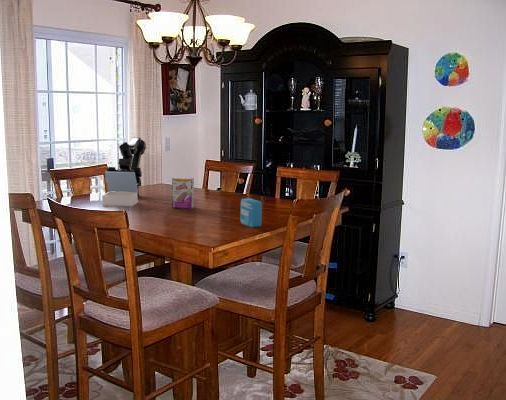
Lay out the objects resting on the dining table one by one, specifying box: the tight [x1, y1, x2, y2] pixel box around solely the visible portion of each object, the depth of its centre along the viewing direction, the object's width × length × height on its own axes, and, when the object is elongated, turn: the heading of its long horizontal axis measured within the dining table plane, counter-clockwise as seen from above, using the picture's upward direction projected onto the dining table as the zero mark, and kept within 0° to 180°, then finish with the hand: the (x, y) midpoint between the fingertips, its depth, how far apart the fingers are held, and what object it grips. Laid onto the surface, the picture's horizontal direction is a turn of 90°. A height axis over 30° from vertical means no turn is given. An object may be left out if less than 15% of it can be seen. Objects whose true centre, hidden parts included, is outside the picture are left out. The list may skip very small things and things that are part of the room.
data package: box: [239, 197, 263, 228], centre depth 247 cm, size 12×4×12 cm, turn 31°
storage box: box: [101, 190, 139, 208], centre depth 294 cm, size 14×16×6 cm
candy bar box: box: [171, 176, 195, 210], centre depth 287 cm, size 11×5×16 cm, turn 84°
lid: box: [104, 170, 138, 192], centre depth 297 cm, size 14×16×1 cm
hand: (122, 183), depth 298 cm, fingers closed, pressing on lid
